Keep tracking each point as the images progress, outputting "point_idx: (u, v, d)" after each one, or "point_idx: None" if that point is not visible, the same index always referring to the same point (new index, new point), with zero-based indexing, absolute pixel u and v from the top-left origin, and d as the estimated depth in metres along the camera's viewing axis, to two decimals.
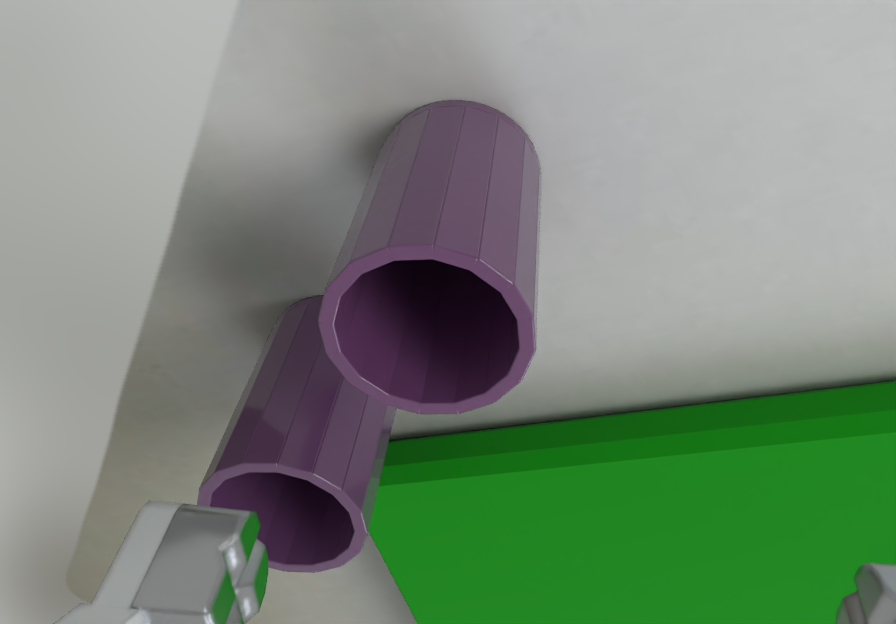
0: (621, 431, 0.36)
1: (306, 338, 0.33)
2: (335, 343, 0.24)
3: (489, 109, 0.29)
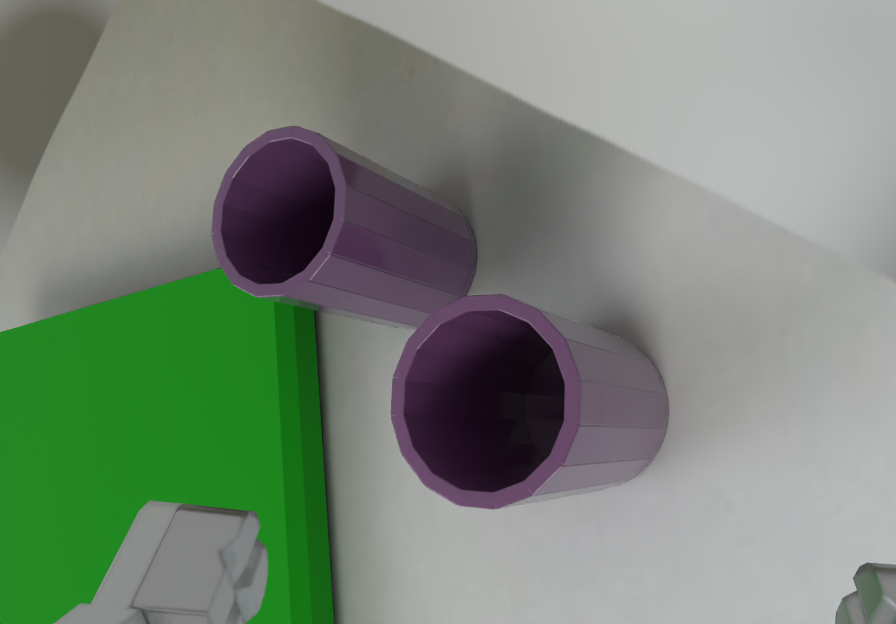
0: (314, 538, 0.36)
1: (443, 242, 0.33)
2: (477, 307, 0.24)
3: (657, 449, 0.31)
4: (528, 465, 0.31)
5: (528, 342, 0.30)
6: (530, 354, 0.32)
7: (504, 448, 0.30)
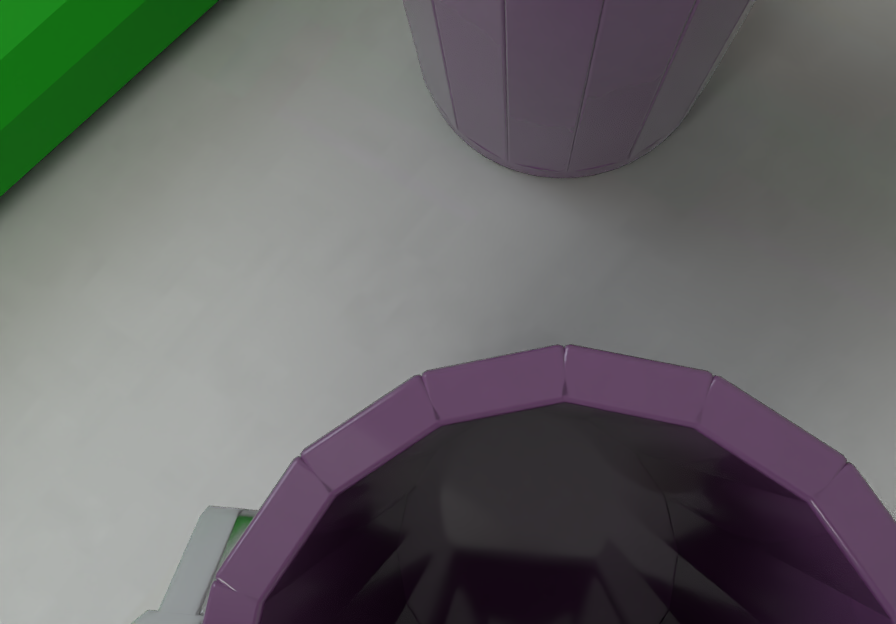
0: None
1: (681, 93, 0.14)
2: (847, 535, 0.06)
3: None
4: (380, 569, 0.14)
5: (617, 431, 0.13)
6: (576, 417, 0.14)
7: (382, 523, 0.13)
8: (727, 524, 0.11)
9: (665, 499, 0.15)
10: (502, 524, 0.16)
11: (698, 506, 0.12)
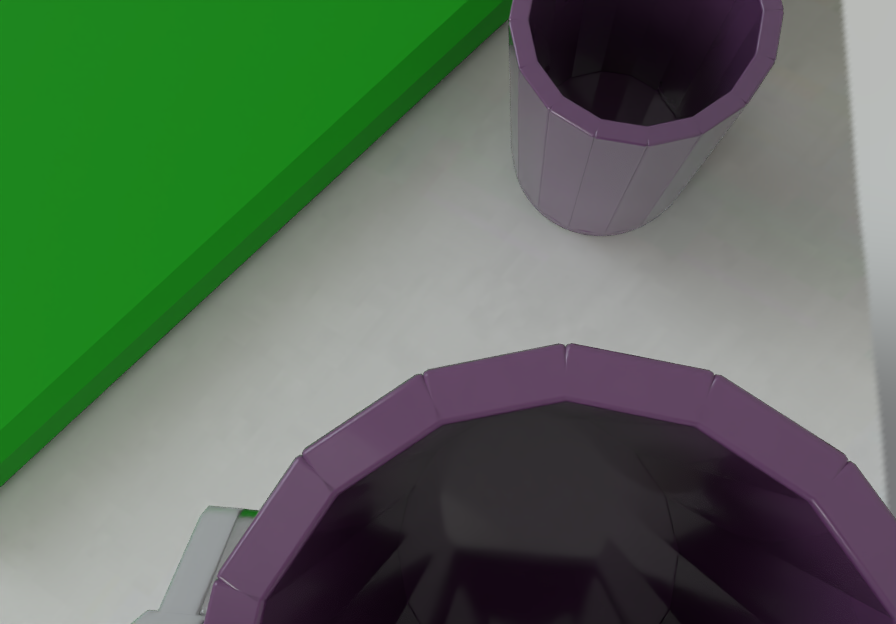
0: (235, 256, 0.28)
1: (670, 196, 0.25)
2: (848, 534, 0.06)
3: None
4: (381, 568, 0.14)
5: (617, 431, 0.13)
6: (577, 417, 0.14)
7: (383, 523, 0.13)
8: (728, 523, 0.11)
9: (666, 499, 0.15)
10: (503, 524, 0.16)
11: (699, 506, 0.12)
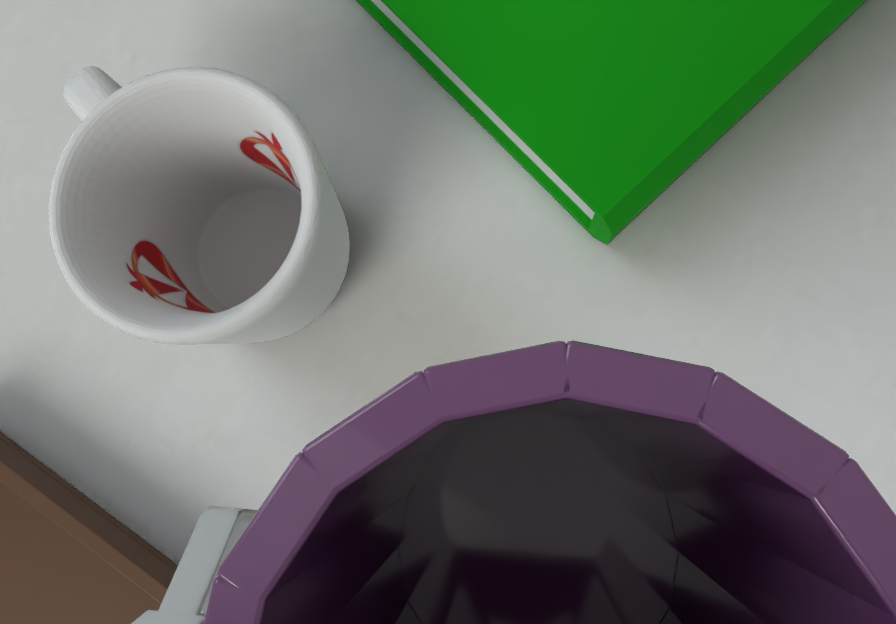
0: None
1: None
2: (849, 531, 0.06)
3: None
4: (381, 567, 0.14)
5: (617, 429, 0.13)
6: (577, 416, 0.14)
7: (383, 522, 0.13)
8: (728, 522, 0.11)
9: (666, 497, 0.15)
10: (503, 522, 0.16)
11: (699, 504, 0.12)
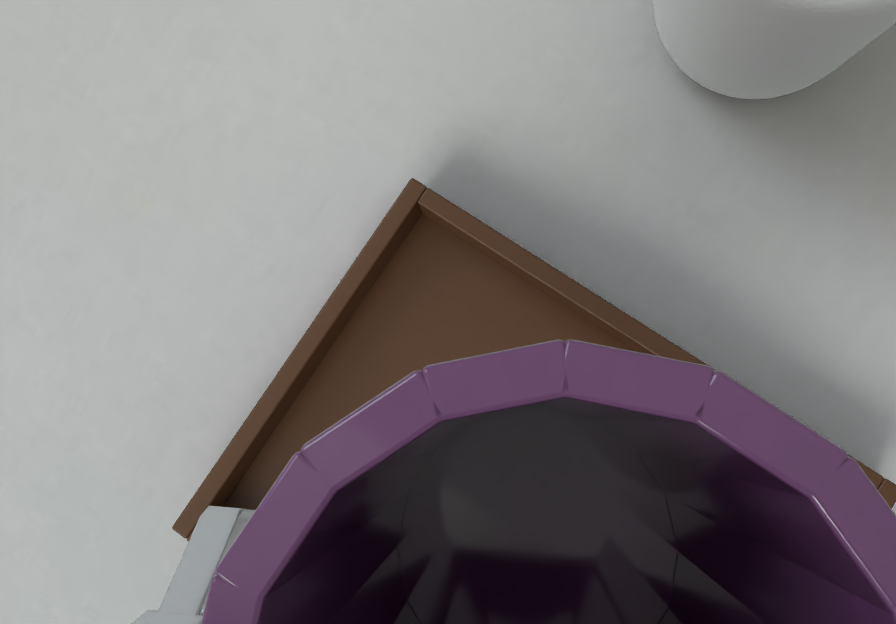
0: None
1: None
2: (848, 530, 0.06)
3: None
4: (380, 566, 0.14)
5: (617, 428, 0.13)
6: (576, 415, 0.14)
7: (382, 521, 0.13)
8: (727, 521, 0.11)
9: (665, 497, 0.15)
10: (502, 522, 0.16)
11: (698, 503, 0.12)
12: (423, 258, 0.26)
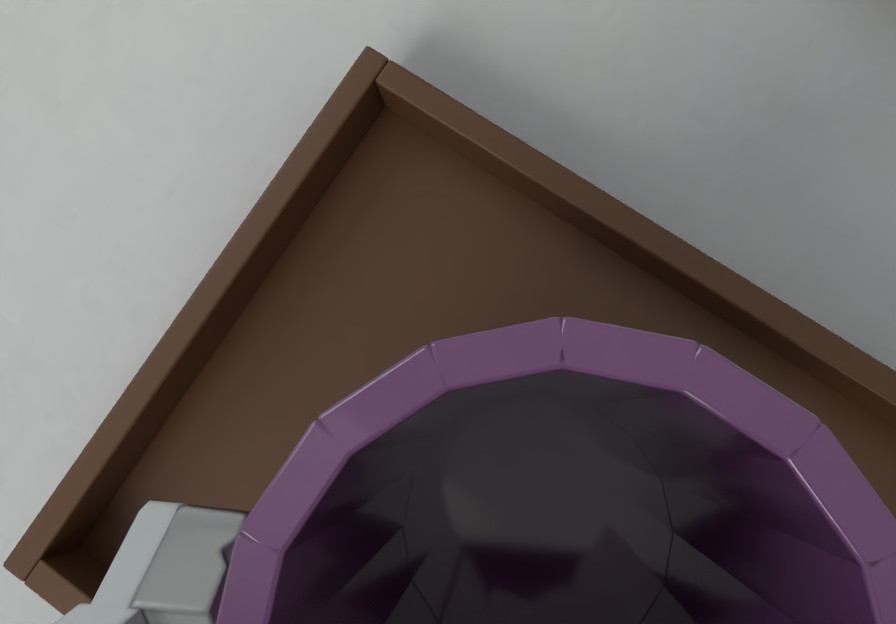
0: None
1: None
2: (821, 490, 0.07)
3: None
4: (386, 544, 0.14)
5: (614, 411, 0.13)
6: (575, 400, 0.15)
7: (389, 499, 0.14)
8: (717, 496, 0.11)
9: (661, 480, 0.16)
10: (504, 504, 0.16)
11: (691, 482, 0.13)
12: (386, 170, 0.18)
